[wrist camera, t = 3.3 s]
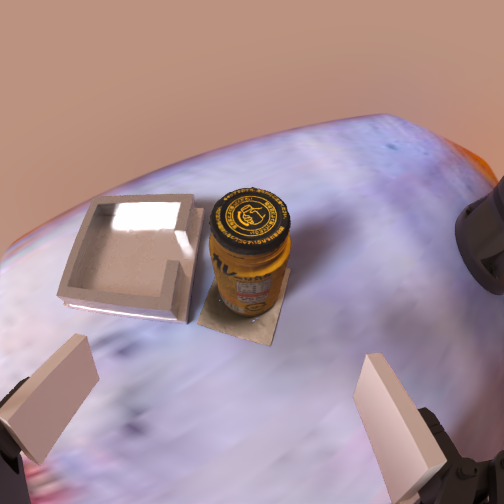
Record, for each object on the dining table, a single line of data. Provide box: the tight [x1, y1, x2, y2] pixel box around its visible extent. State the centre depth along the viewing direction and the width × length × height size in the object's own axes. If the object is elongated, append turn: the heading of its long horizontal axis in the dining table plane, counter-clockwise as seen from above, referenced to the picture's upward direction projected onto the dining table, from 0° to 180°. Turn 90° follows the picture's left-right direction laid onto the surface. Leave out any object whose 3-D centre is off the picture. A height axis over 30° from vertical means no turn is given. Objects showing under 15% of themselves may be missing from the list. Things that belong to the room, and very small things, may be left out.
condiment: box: [197, 187, 291, 346], centre depth 22 cm, size 7×8×12 cm
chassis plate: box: [56, 194, 205, 324], centre depth 28 cm, size 15×14×4 cm
